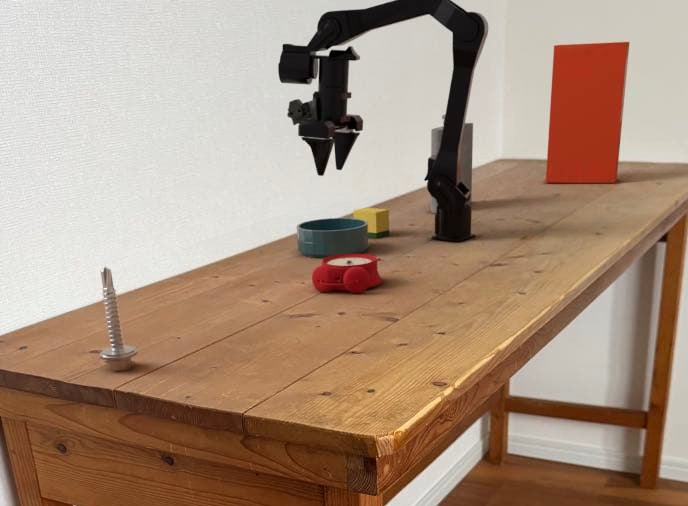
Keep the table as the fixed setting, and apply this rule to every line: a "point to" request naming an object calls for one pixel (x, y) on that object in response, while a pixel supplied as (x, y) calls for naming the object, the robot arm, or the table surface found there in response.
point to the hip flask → (465, 156)
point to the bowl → (332, 237)
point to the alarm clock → (347, 273)
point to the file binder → (586, 112)
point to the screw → (114, 328)
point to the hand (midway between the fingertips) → (330, 172)
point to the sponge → (374, 221)
